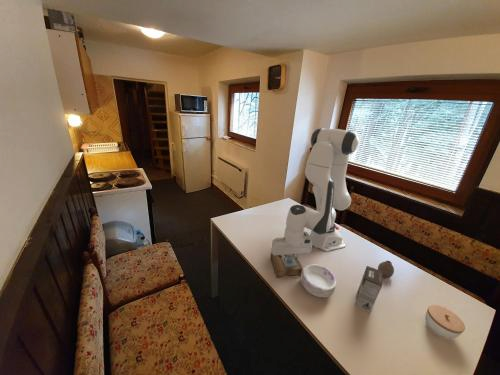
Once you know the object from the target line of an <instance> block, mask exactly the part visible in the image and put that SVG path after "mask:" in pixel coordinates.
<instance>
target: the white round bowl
mask: <svg viewBox="0 0 500 375" xmlns="http://www.w3.org/2000/svg"><path fill="white" fill-rule="evenodd" d="M300 279H301V283H302V286H303V287H304V288H305V290H306V291H307V292H309V294H311V295H313V296H315V297H320V298H329V297H331V296H332V295H333V294H334V293H335V290H336V287H337V282H338V281H337V277H336V276H335V274H334V273H333V271H332V270H330V269H329V268H327V267H326V266H325V265H321V264H316V263H311V264H308V265H305V267H304V268H302V273H301V278H300Z"/></svg>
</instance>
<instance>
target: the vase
mask: <svg viewBox="0 0 500 375" xmlns="http://www.w3.org/2000/svg"><path fill="white" fill-rule="evenodd" d="M377 270H380V271H382V272H383V279H384V278H385V279H389V278H392V276H394V273H395V267H394V266H393V264H392V262H391V261H390V260H385V261H382V262H380V263H378V265H377Z"/></svg>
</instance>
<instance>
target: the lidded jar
mask: <svg viewBox="0 0 500 375" xmlns="http://www.w3.org/2000/svg"><path fill="white" fill-rule="evenodd" d="M424 320H425V322H426V324H427V327H428V329H429V330H430V331H431V332H432V333H433V334H434V335H435V336H438V337H439V338H442V339H447V340H454V339H457V338H459V337H460V336H461V335H462V333H464V332H465V330H466V326H465V323H464V321H463V320H462V319H461V318H460V317H459V316H458V315H457V314H456V312H455V313H454V312H453V311H452V310H450V309H449V308H447V307H445V306H443V305H439V304H429V306H428V307H427V310H426V313H425V319H424Z"/></svg>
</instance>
